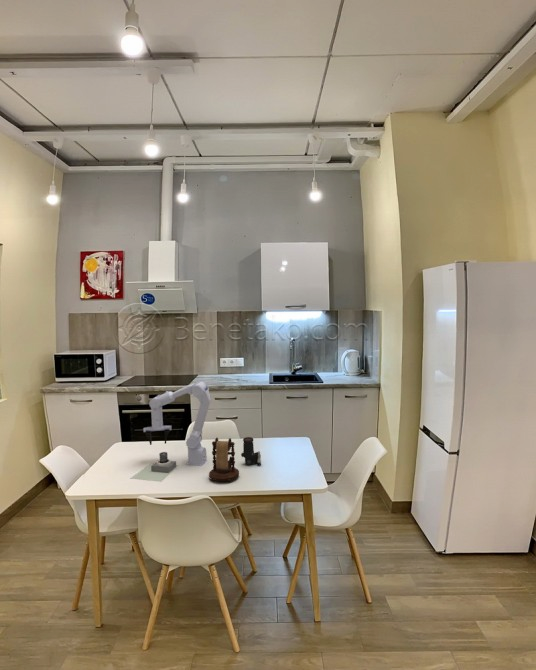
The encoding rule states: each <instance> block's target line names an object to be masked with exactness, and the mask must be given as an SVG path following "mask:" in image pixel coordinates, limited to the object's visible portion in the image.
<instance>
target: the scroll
mask: <svg viewBox="0 0 536 670" xmlns="http://www.w3.org/2000/svg"><path fill="white" fill-rule="evenodd" d="M211 445H212V452H211V454H212V456H213V457H212V465H213V467H212V469H211V470H210V471H209V473H208V478H210V480H211V482H213V481H217V482H226V481H229V482H230V483H232V481H233V480H234V479H236V478H238V477H239V475H240V470H239V469H238V468H236V467H235V465H236V461H235V459H236V458H235V454H236V451H235V442H234V441H232V438H231V437H230V438H228V440H219V437H216V438H215V440H214V441H212V443H211ZM230 455H231V456H230Z"/></svg>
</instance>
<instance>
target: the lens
mask: <svg viewBox="0 0 536 670" xmlns="http://www.w3.org/2000/svg"><path fill="white" fill-rule="evenodd" d="M158 456H159V460H160V463H167V462H168V459H169V458H168V452H167V451H162V452H160V453H159V455H158Z"/></svg>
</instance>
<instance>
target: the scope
mask: <svg viewBox="0 0 536 670" xmlns="http://www.w3.org/2000/svg"><path fill="white" fill-rule="evenodd" d="M242 442H243V451H242V452H241V453H240V454H241V457H242V458H244V465H245V466H254V465H255V466H256V465H257V466H261V465H262V459H261V451H256V452H255V449H254V438H253V437H251V436H246V437H243V439H242Z"/></svg>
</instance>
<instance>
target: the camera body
mask: <svg viewBox="0 0 536 670" xmlns="http://www.w3.org/2000/svg"><path fill="white" fill-rule="evenodd" d="M153 463H154V464H153V465H152V466H151V471H152V472H163V473H170V472H171V471H172V470H173V469H175V468H176V465H177V461H175V460H171V459H170V458H168V462H167V463H160V459H159V460H156V462H153ZM175 470H176V469H175Z"/></svg>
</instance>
